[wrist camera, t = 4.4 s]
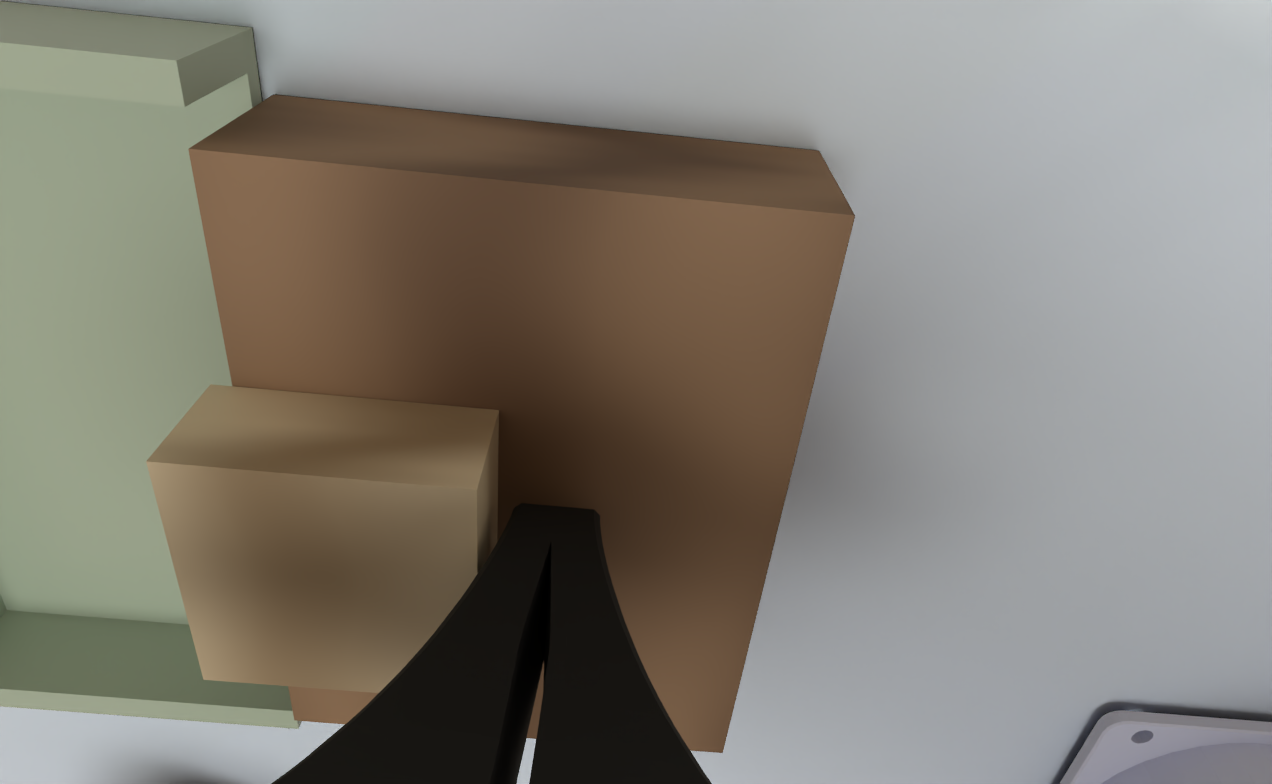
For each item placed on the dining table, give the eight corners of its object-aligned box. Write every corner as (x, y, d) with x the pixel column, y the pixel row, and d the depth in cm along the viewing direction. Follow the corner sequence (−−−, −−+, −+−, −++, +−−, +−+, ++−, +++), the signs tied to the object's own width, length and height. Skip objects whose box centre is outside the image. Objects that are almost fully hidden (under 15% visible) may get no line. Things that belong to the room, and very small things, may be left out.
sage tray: (251, 27, 13) (176, 60, 11) (334, 640, 21) (298, 728, 19) (-278, -29, 13) (-459, -6, 11) (-1, 613, 20) (-75, 700, 18)
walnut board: (818, 150, 14) (855, 216, 12) (714, 642, 21) (722, 752, 18) (273, 94, 14) (188, 148, 11) (339, 611, 20) (294, 720, 18)
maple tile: (498, 410, 13) (476, 490, 12) (496, 610, 16) (478, 700, 14) (210, 384, 13) (145, 461, 12) (251, 591, 16) (203, 679, 14)
